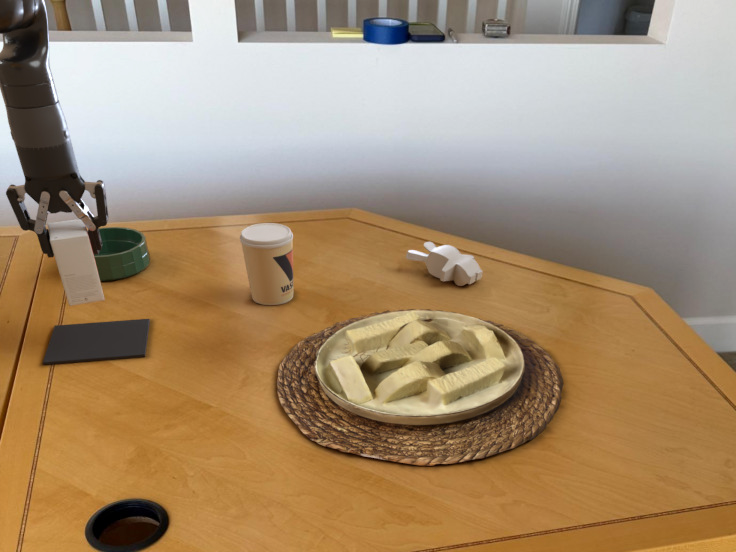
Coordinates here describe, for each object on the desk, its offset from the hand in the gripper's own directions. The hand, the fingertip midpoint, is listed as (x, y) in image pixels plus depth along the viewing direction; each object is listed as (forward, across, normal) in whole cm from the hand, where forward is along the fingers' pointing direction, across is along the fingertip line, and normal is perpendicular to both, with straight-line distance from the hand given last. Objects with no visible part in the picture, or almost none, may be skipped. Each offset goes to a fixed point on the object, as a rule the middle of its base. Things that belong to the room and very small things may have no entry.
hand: (74, 253), depth 121 cm
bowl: (+15, +1, -32) cm, 35 cm away
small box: (+7, 0, 0) cm, 7 cm away
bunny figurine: (+15, -64, -17) cm, 68 cm away
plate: (+15, -51, +21) cm, 57 cm away
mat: (+15, 0, 0) cm, 15 cm away
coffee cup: (+15, -30, -13) cm, 36 cm away
